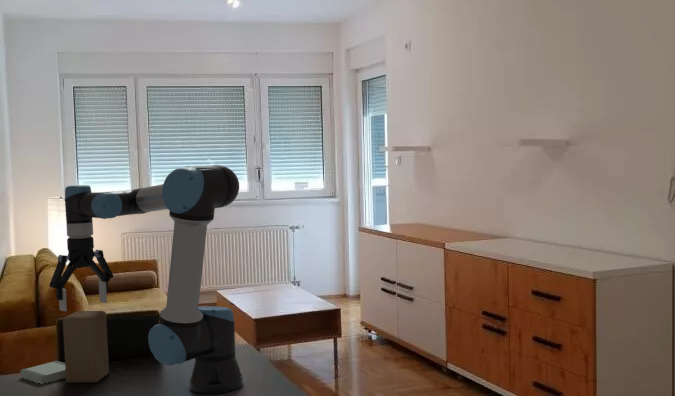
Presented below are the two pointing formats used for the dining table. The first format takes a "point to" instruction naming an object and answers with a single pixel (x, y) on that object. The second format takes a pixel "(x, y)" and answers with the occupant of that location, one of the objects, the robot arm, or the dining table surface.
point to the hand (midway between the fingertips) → (83, 306)
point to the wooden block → (85, 346)
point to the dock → (45, 372)
